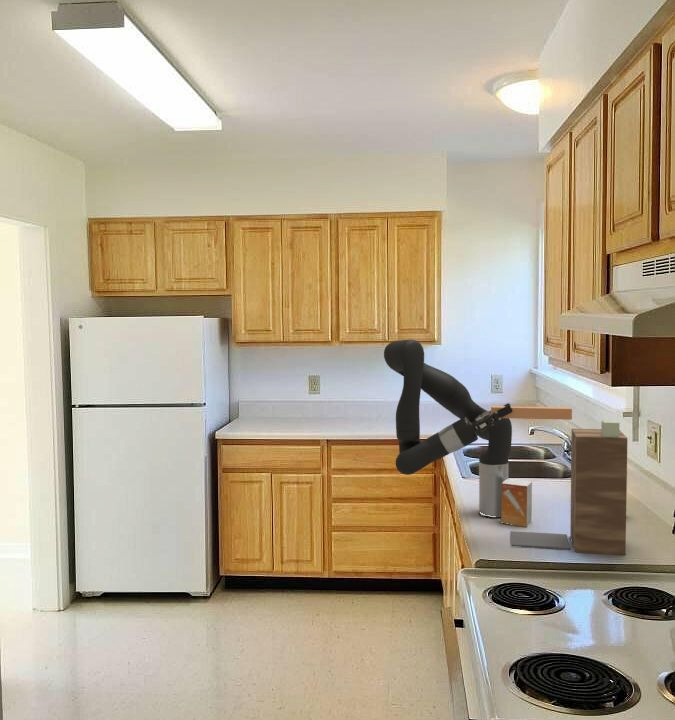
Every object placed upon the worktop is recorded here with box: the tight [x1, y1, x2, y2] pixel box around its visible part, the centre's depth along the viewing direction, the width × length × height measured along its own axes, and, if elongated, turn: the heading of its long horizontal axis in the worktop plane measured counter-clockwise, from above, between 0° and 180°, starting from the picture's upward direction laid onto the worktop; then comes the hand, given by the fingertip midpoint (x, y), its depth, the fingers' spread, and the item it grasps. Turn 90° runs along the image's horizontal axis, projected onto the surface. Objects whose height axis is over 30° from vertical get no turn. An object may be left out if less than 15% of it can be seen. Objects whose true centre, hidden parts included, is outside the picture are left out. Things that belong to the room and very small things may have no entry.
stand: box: [569, 428, 628, 556], centre depth 200 cm, size 13×13×32 cm
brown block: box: [490, 405, 573, 421], centre depth 202 cm, size 3×22×3 cm, turn 78°
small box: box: [500, 478, 533, 528], centre depth 222 cm, size 8×6×13 cm
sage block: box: [601, 419, 620, 438], centre depth 194 cm, size 4×4×4 cm
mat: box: [510, 530, 572, 551], centre depth 205 cm, size 12×16×1 cm
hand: (510, 407), depth 203 cm, fingers closed on brown block, 3 cm apart
